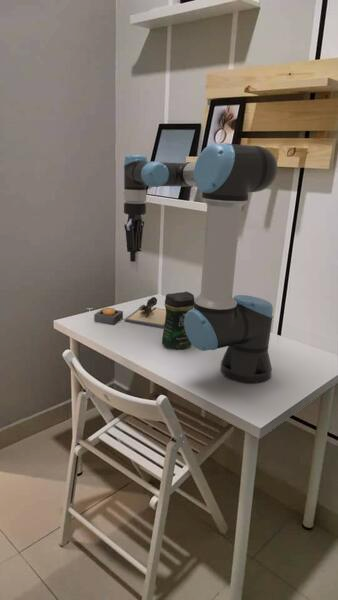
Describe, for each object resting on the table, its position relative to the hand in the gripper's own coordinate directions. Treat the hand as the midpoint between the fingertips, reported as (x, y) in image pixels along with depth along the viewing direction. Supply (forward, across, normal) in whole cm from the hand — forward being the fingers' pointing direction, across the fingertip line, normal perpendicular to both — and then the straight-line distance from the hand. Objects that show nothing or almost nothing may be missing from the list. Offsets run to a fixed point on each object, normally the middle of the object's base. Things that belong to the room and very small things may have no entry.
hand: (133, 269), depth 168 cm
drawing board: (+21, -12, +3) cm, 25 cm away
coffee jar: (+22, +10, +20) cm, 31 cm away
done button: (+19, -3, -11) cm, 22 cm away
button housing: (+21, -3, -11) cm, 24 cm away
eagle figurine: (+20, -12, +2) cm, 24 cm away
